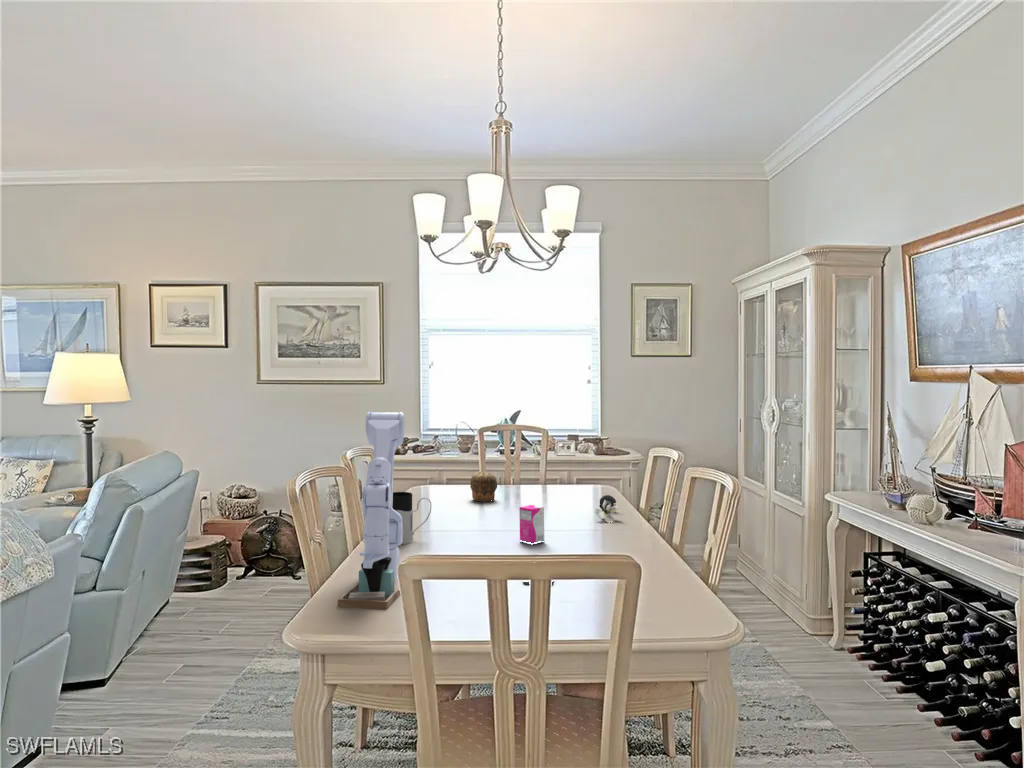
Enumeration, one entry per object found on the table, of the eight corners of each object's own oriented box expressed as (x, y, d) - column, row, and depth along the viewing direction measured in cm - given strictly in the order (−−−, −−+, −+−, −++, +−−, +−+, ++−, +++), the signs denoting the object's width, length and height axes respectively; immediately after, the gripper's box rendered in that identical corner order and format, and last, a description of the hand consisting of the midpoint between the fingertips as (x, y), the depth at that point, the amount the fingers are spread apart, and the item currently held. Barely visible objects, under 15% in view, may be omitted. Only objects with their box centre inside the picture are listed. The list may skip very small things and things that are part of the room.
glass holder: (387, 537, 248) (387, 491, 247) (431, 537, 249) (431, 491, 248) (385, 544, 239) (385, 496, 238) (431, 543, 240) (431, 496, 240)
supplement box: (531, 539, 247) (531, 504, 247) (544, 542, 243) (545, 506, 242) (518, 542, 243) (519, 506, 243) (532, 545, 239) (532, 509, 238)
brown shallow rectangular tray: (357, 594, 188) (357, 582, 188) (403, 596, 186) (403, 584, 186) (337, 612, 175) (337, 599, 174) (387, 615, 173) (387, 601, 173)
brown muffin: (467, 502, 309) (467, 473, 309) (473, 497, 320) (473, 469, 320) (494, 503, 307) (494, 474, 307) (499, 498, 318) (499, 470, 318)
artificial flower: (619, 515, 294) (626, 491, 292) (610, 534, 273) (617, 509, 271) (597, 507, 296) (604, 484, 294) (586, 526, 275) (593, 501, 273)
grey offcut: (350, 601, 178) (350, 592, 178) (384, 600, 179) (384, 591, 179) (348, 606, 175) (348, 597, 175) (384, 605, 176) (384, 596, 176)
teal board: (362, 597, 186) (362, 568, 186) (394, 598, 185) (394, 569, 185) (358, 600, 184) (358, 571, 183) (391, 601, 182) (391, 572, 182)
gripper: (369, 527, 191) (369, 580, 192) (350, 540, 177) (350, 598, 177) (397, 528, 191) (397, 582, 191) (379, 541, 176) (379, 600, 177)
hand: (376, 590), depth 184 cm, fingers closed on teal board, 2 cm apart
